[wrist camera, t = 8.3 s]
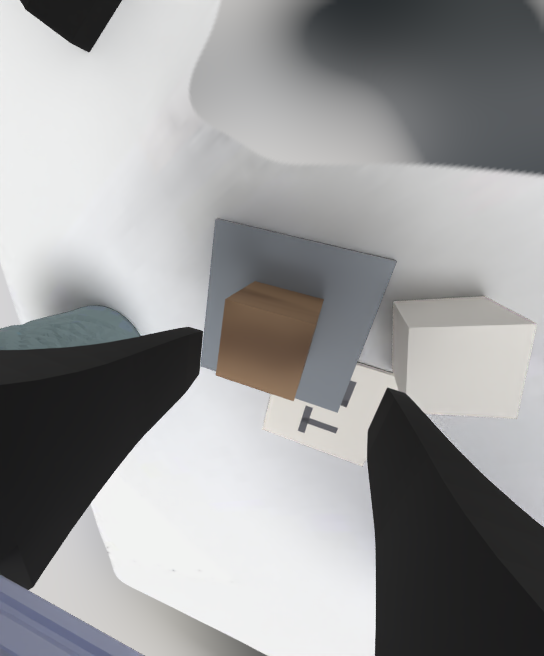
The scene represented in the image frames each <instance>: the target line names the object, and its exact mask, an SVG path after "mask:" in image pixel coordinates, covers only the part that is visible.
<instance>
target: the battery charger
mask: <svg viewBox="0 0 544 656" xmlns="http://www.w3.org/2000/svg"><path fill="white" fill-rule="evenodd" d="M20 1H21V3H22V4H23V6H24V7H25V9H26V10H27V11H28V12H30V13H31V14H32V15H34V16H35V17H36V18H38V19H39V20H40V21H42V22H43V23H44V24H46V25H47V26H48V27H50V28H51V29H52V30H54V31H55V32H56V33H58V34H59V35H61V36H62V37H63V38H65V39H66V40H67V41H69V42H70V43H72V44H74V45H76V46H78V47H80V48H81V49H83V50H85V51H87V52H90V51H91V49H92V47H93V46H94V44H95V43H96V41H97V39H98V38H99V36H100V35H101V33H102V31H103V30H104V28H105V27H106V25H107V23H108V22H109V20H110V19H111V17H112V15H113V14H114V12H115V11H116V9H117V8H118V6H119V4H120V3H121V1H122V0H20Z"/></svg>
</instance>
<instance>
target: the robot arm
mask: <svg viewBox="0 0 544 656" xmlns="http://www.w3.org/2000/svg"><path fill="white" fill-rule="evenodd" d="M202 337H203V331H201V330H197V329H194V328H191V327H184V328H178V329H173V330H168V331H163V332H158V333H154V334H149V335H144V336H139V337H134V338H129V339H123V340H118V341H112V342H106V343H100V344H92V345H84V346H75V347H63V348H46V349H29V350H0V656H144V655H142V654H140V653H139V652H137V651H135V650H134V649H132V648H130V647H128V646H126V645H125V644H123V643H121V642H119V641H117V640H116V639H114V638H112V637H110V636H109V635H107V634H105V633H103V632H101V631H100V630H98V629H96V628H94V627H93V626H91V625H89V624H87V623H85V622H84V621H82V620H80V619H78V618H77V617H75V616H73V615H71V614H69V613H68V612H66V611H64V610H62V609H60V608H59V607H57V606H55V605H53V604H51V603H50V602H48V601H46V600H44V599H43V598H41V597H39V596H37V595H35V594H34V593H32V592H30V591H28V590H29V589H31V588H32V587H33V586H34V585H35V583H36V582H37V580H38V579H39V577H40V576H41V574H42V573H43V571H44V570H45V568H46V567H47V565H48V564H49V562H50V561H51V559H52V558H53V556H54V555H55V553H56V552H57V551H58V549H59V548H60V546H61V545H62V543H63V542H64V540H65V539H66V537H67V536H68V534H69V533H70V531H71V530H72V528H73V527H74V525H75V524H76V523H77V521H78V520H79V519H80V517H81V516H82V515H83V513H84V512H85V510H86V509H87V508H88V506H89V505H90V503H91V502H92V501H93V499H94V498H95V496H96V495H97V494H98V492H99V491H100V490H101V489H102V487H103V486H104V485H105V483H106V482H107V481H108V479H109V478H110V477H111V475H112V474H113V473H114V471H115V470H116V469H117V468H118V466H119V465H120V464H121V463H122V461H123V460H124V459H125V458H126V456H127V455H128V454H129V453H130V451H131V450H132V449H133V448H134V446H135V445H136V444H137V443H138V442H139V441H140V439H141V438H142V437H143V436H144V435H145V434H146V433H147V432H148V431H149V430H150V429H151V428H152V427H153V426H154V425H155V424H156V423H157V422H158V421H159V420H160V419H161V418H162V417H163V415H164V414H165V413H166V412H167V411H168V410H169V409H170V408H171V407H172V406H173V405H174V404H175V403H176V402H177V401H178V400H179V399H180V398H181V397H182V396H183V395H184V394H185V393H186V391H187V390H188V389H189V387H190V386H191V385H192V383H193V382H194V380H195V379H196V378H197V376H198V375H199V371H200V359H201V348H202ZM367 462H368V472H369V482H370V491H371V500H372V509H373V518H374V528H375V544H376V638H375V656H544V527H543V526H541V525H540V524H539V523H538V522H536V521H535V520H534V519H533V518H532V517H530V516H529V515H528V514H527V513H526V512H524V511H523V510H522V509H521V508H520V507H518V506H517V505H516V504H515V503H514V502H513V501H512V500H511V499H509V498H508V497H507V496H506V495H505V494H504V493H503V492H502V491H500V490H499V489H498V488H497V487H496V486H495V485H494V484H493V483H492V482H490V481H489V480H488V479H487V478H486V477H485V476H484V475H483V474H482V473H481V472H480V471H479V470H478V469H477V468H476V467H475V466H474V465H473V464H472V463H471V462H470V461H469V460H468V459H467V458H466V457H465V456H464V455H463V454H462V453H461V452H460V451H459V450H458V449H457V448H456V447H455V446H454V445H453V444H452V443H451V442H450V441H449V440H448V439H447V438H446V437H445V436H444V434H443V433H442V432H441V431H440V430H439V429H438V428H437V427H436V426H435V425H434V423H433V422H432V421H431V420H430V419H429V418H428V417H427V416H426V414H425V413H424V412H423V411H422V410H421V409H420V408H419V407H418V406H417V404H416V403H415V402H414V401H413V400H412V399H411V398H410V397H409V396H408V395H407V394H406V393H404V392H401V391H397V390H394V389H391V388H388V387H387V389H386V391H385V393H384V396H383V398H382V400H381V402H380V404H379V407H378V409H377V411H376V413H375V415H374V418H373V420H372V422H371V424H370V426H369V429H368V436H367Z"/></svg>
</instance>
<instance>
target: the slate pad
mask: <svg viewBox="0 0 544 656" xmlns="http://www.w3.org/2000/svg"><path fill="white" fill-rule="evenodd" d="M396 262H397V261H396V260H391V259H387V258H383V257H379V256H374V255H370V254H366V253H362V252H357V251H353V250H349V249H345V248H340V247H336V246H332V245H328V244H323V243H319V242H315V241H311V240H307V239H302V238H298V237H294V236H290V235H285V234H281V233H277V232H273V231H268V230H264V229H260V228H256V227H251V226H247V225H243V224H239V223H234V222H230V221H226V220H222V219H216V220H215V230H214V240H213V249H212V259H211V269H210V279H209V289H208V298H207V308H206V318H205V328H204V338H203V347H202V357H201V366H202V367H205V368H208V369H211V370H214V371H216V369H217V361H218V353H219V345H220V337H221V329H222V321H223V313H224V305H225V299H226V298H228V297H230V296H231V295H233V294H235V293H236V292H238V291H239V290H241V289H243V288H244V287H246V286H248V285H249V284H251V283H253V282H254V281H256V282H260V283H264V284H268V285H271V286H275V287H279V288H283V289H287V290H290V291H294V292H298V293H302V294H306V295H309V296H313V297H317V298H321V299H324V301H323V304H322V308H321V311H320V315H319V318H318V322H317V325H316V329H315V332H314V336H313V339H312V343H311V346H310V350H309V353H308V357H307V360H306V363H305V367H304V370H303V373H302V376H301V379H300V383H299V386H298V389H297V392H296V396H295V398H296V399H299V400H301V401H304V402H307V403H310V404H313V405H316V406H319V407H322V408H325V409H328V410H331V411H334V412H337V413H338V410H339V408H340V405H341V403H342V400H343V397H344V395H345V392H346V390H347V387H348V385H349V382H350V380H351V377H352V375H353V372H354V369H355V367H356V364H357V362H358V359H359V357H360V354H361V352H362V349H363V346H364V344H365V341H366V339H367V336H368V334H369V331H370V329H371V326H372V324H373V321H374V318H375V316H376V313H377V311H378V308H379V306H380V303H381V301H382V298H383V295H384V293H385V290H386V288H387V285H388V283H389V280H390V278H391V275H392V273H393V270H394V267H395V265H396Z"/></svg>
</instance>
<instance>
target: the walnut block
mask: <svg viewBox="0 0 544 656" xmlns="http://www.w3.org/2000/svg"><path fill="white" fill-rule="evenodd" d="M323 301H324V299H321V298H317V297H313V296H309V295H306V294H302V293H298V292H294V291H290V290H287V289H283V288H279V287H275V286H271V285H268V284H264V283H260V282H256V281H254V282H253V283H251V284H249V285H248V286H246V287H244V288H243V289H241V290H239V291H238V292H236V293H235V294H233V295H231V296H230V297H228V298H226V299H225V305H224V313H223V321H222V329H221V337H220V345H219V353H218V361H217V369H216V375H217V376H220V377H223V378H225V379H228V380H231V381H234V382H237V383H240V384H243V385H246V386H249V387H252V388H255V389H258V390H261V391H264V392H267V393H270V394H273V395H276V396H279V397H282V398H285V399H288V400H291V401H294V399H295V396H296V392H297V389H298V386H299V383H300V379H301V376H302V373H303V370H304V367H305V363H306V360H307V357H308V353H309V350H310V346H311V343H312V339H313V336H314V332H315V329H316V325H317V322H318V318H319V315H320V311H321V308H322V304H323Z"/></svg>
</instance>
